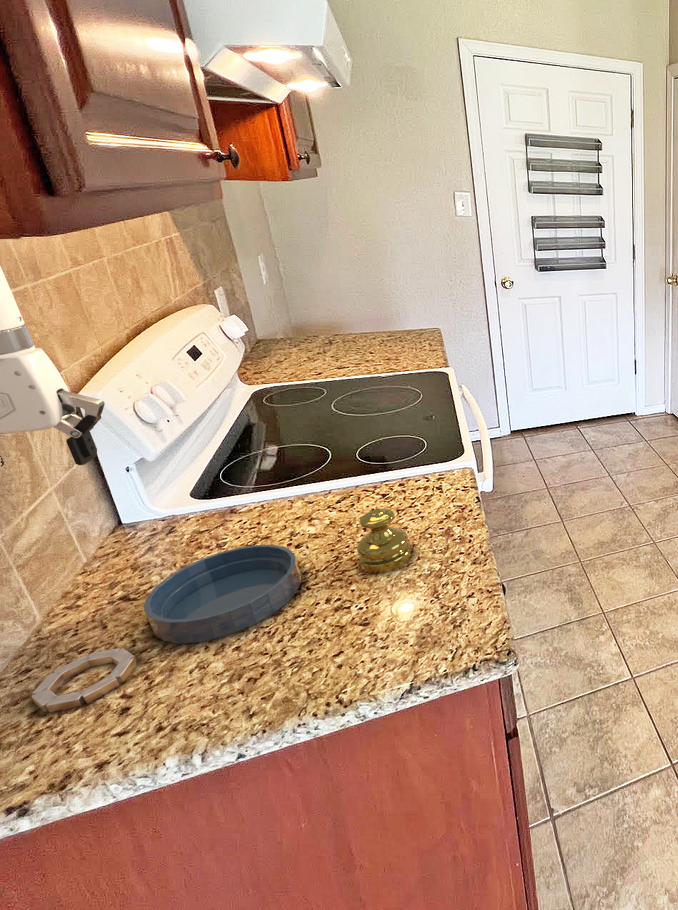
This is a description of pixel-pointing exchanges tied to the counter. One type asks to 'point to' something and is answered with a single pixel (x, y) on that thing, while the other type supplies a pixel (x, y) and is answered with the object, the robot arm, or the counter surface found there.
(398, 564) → the brass weight
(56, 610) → the counter surface
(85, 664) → the ring
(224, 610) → the bowl
